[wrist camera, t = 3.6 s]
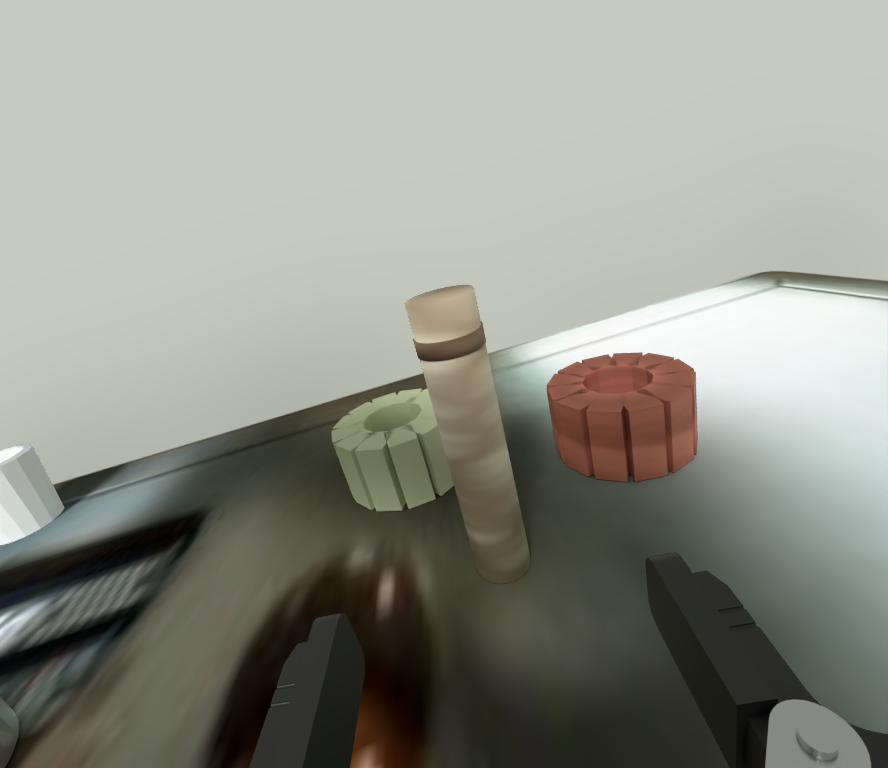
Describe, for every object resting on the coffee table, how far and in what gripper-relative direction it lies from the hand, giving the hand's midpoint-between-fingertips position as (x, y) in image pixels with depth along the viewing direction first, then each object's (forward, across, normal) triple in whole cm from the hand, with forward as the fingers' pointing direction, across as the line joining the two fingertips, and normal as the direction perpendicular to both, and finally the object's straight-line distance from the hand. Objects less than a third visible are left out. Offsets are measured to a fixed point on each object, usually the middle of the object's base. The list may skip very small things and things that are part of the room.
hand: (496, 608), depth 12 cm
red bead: (+19, -10, +8) cm, 23 cm away
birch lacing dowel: (+10, 0, +8) cm, 13 cm away
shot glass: (+26, +44, +9) cm, 52 cm away
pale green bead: (+21, +6, +8) cm, 24 cm away
